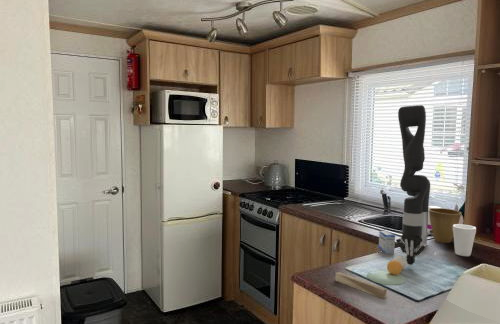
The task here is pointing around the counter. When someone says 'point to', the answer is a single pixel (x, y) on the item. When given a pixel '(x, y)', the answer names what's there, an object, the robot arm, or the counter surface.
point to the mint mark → (386, 278)
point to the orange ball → (394, 267)
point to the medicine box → (386, 242)
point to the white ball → (401, 261)
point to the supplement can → (429, 229)
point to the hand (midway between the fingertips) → (410, 264)
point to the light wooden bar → (361, 285)
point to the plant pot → (443, 223)
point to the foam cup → (463, 239)
